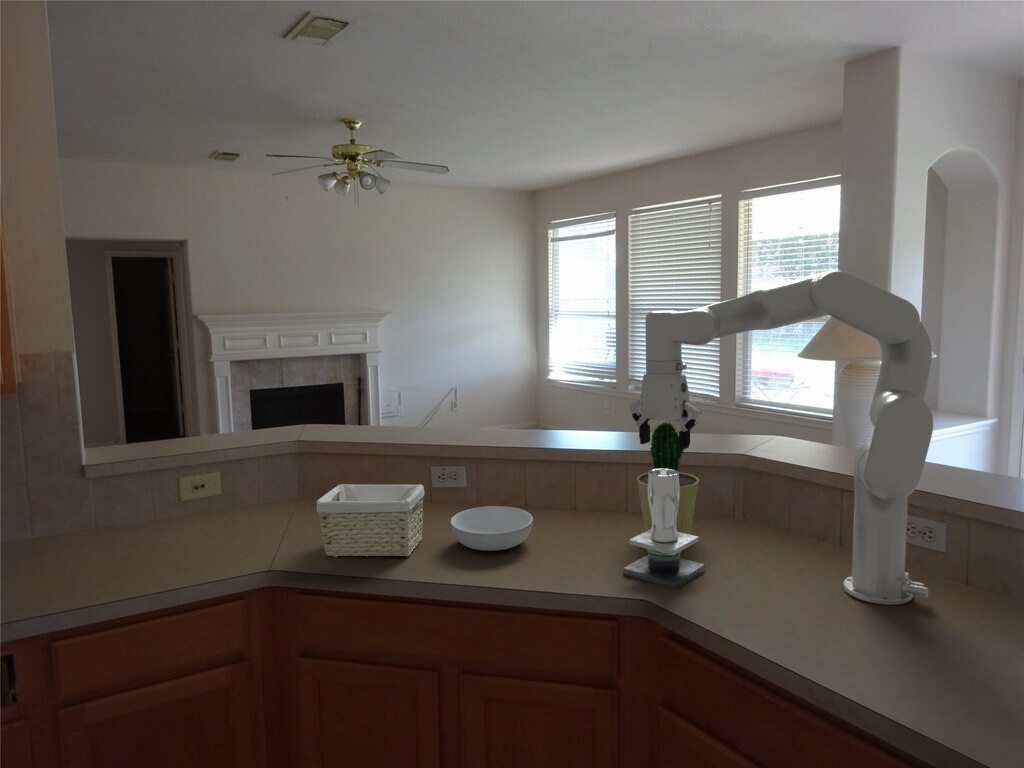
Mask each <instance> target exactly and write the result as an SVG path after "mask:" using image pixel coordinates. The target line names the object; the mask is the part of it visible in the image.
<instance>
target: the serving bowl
mask: <svg viewBox="0 0 1024 768" xmlns="http://www.w3.org/2000/svg"><path fill="white" fill-rule="evenodd" d="M533 518H534V517H533V516H532V514H531V513H529V512H528V511H527V510H524V509H522V508H517V507H513V506H501V505H499V506H498V505H496V506H495V505H493V506H492V505H489V506H479V507H474V508H469V509H466V510H463V511H460V512H458V513H455V514H454V516H452V517H451V518H450V527H451V531H452V534H453V535H454V537H455V538H456V540H457V541H458V543H460V544H461V545H463V546H465V547H467V548H470V549H472V550H479V551H485V552H486V551H489V552H490V551H491V552H492V551H493V552H494V551H502V550H507V549H511V548H514V547H516V546H518V545H520V544H522V543H523V542H524V541H525V540H527V538H528V537H529V535H530V533H531V531H532V528H533V524H534V523H533V522H534V520H533Z"/></svg>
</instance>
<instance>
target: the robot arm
mask: <svg viewBox="0 0 1024 768" xmlns="http://www.w3.org/2000/svg"><path fill="white" fill-rule="evenodd" d="M826 316H830V317H831V318H834V319H835V320H838V321H839V322H841V323H843V324H845V325H847V326H849V327H852V328H853V329H855V330H857V331H860V332H861V333H863V334H865V335H868V336H870V337H872V338H873V339H875V340H876V341H878V343H879V346H880V349H881V362H880V367H879V368H880V369H879V373H878V378H877V381H876V385H875V389H874V394H873V397H872V400H871V404H870V406H869V411H868V412H869V413H868V414H869V419H870V422H871V424H872V425H873V427H874V428H873V434H872V437H871V440H869V441H867V442H865V443H864V444H863V445H861V446H860V447H859V448H858V450H857V452H856V454H855V456H854V460H853V486H854V502H853V503H854V505H853V506H854V507H853V511H854V513H853V530H852V531H853V535H852V537H853V538H852V560H851V561H852V565H851V576H847V578H845V579H844V580H843V587H842V589H844V591H845V592H846V593H847V594H848V595H850V596H851V597H854V598H856V599H857V600H861V601H863V602H868V603H871V604H876V605H886V606H887V605H889V606H896V605H903V604H906V603H908V602H910V601H912V599H913V596H915V595H916V596H917V597H921V598H925V599H928V596H929V588H928V587H925V583H922V582H918V581H912V579H910V573H909V572H907V571H906V551H907V550H906V549H907V546H906V545H907V531H908V530H907V525H908V523H907V522H908V504H909V503H908V497H909V496H910V495H912V494H913V492H914V491H915V490H916V489H917V487H918V485H919V483H920V480H921V478H922V474H923V471H924V467H925V463H926V460H927V457H928V456H927V455H928V452H929V448H930V444H931V439H932V437H933V432H934V417H933V413H932V410H931V408H930V407H929V404H927V403H926V402H925V395H926V393H927V391H926V390H927V387H928V383H929V376H930V373H931V372H930V371H931V367H932V360H933V359H932V358H933V353H932V352H933V351H932V344H931V343H932V342H931V340H930V337H929V334H928V332H927V330H926V328H925V326H924V324H923V322H922V321H921V318H920V317H921V316H920V313H919V311H918V309H917V308H916V306H915V305H914V304H912V303H911V302H910V301H908V300H907V299H906V298H905V299H904V297H903V298H902V297H901V296H898V295H895V294H894V293H892V292H890V291H887V290H885V289H883V288H881V287H879V286H877V285H875V284H873V283H870V282H868V281H866V280H864V279H862V278H860V277H858V276H856V275H854V274H852V273H850V272H848V271H845V270H839V269H835V270H828V271H823V272H820V273H816V274H812V275H808V276H805V277H801V278H798V279H793V280H790V281H787V282H782V283H778V284H776V285H775V284H774V285H771V286H767V287H763V288H761V289H758V290H755V291H753V292H750V293H748V294H745V295H743V296H739V297H734V298H731V299H727V300H724V301H720V302H716V303H712V304H709V305H706V306H702V307H701V306H700V307H698V308H694V309H691V310H686V311H685V310H684V311H678V310H672V309H670V310H669V309H668V310H667V309H665V310H664V309H663V310H661V309H660V310H652V311H649V312H647V314H646V315H645V320H644V321H645V373H644V374H643V377H642V381H641V386H640V387H641V388H640V399H638V400H636V401H635V402H632V403H630V404H629V405H628V408H629V410H630V414H631V415H632V416H631V417H632V418H633V420H634V421H635V422H636V426H637V427H638V432H639V433H638V438H639V444H640V445H645V444H649V443H651V435H650V433H651V425H650V424H649V422H650V421H651V420H655V421H663V422H670V423H671V422H672V423H673V422H674V423H675V424H676V425H677V426H678V427H679V428H680V431H678V436H679V449H680V450H687V449H689V447H690V444H691V430H693V429H694V427H695V426H696V425H697V424H698V423H699V419H700V418H701V416H702V410H701V409H699V408H697V407H696V406H694V405H692V404H691V403H690V391H689V385H688V380H687V375H686V374H684V373H683V371H686V370H687V363H683V360H682V356H683V355H682V344H683V345H684V344H686V345H693V346H704V345H706V344H709V343H710V342H712V341H713V340H715V339H718V338H723V337H727V336H731V335H734V334H739V333H743V332H749V331H767V330H774V329H778V328H782V327H786V326H789V325H793V324H797V323H802V322H806V321H809V320H814V319H817V318H822V317H826ZM639 409H640V412H639ZM690 416H691V418H690ZM689 418H690V419H689Z"/></svg>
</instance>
